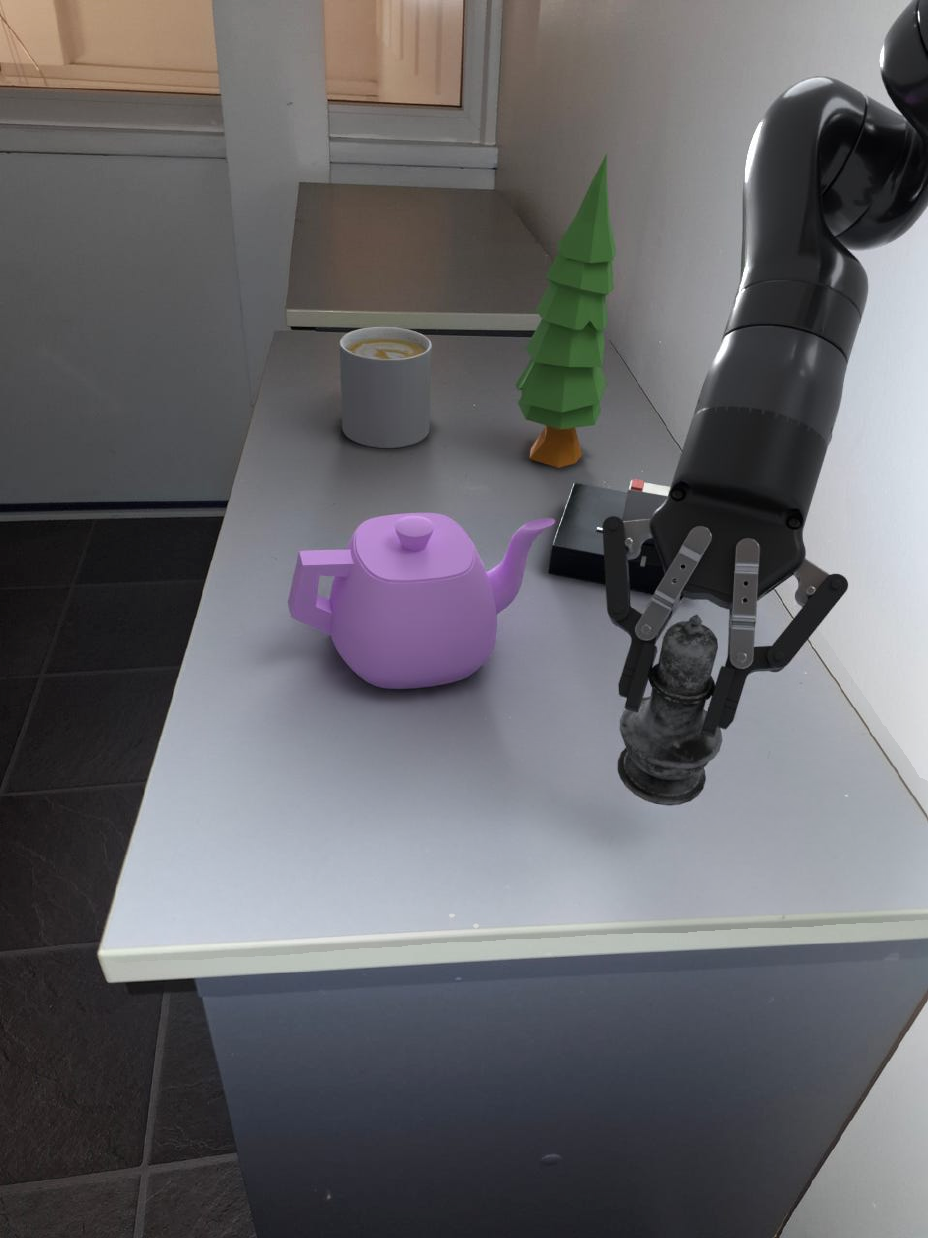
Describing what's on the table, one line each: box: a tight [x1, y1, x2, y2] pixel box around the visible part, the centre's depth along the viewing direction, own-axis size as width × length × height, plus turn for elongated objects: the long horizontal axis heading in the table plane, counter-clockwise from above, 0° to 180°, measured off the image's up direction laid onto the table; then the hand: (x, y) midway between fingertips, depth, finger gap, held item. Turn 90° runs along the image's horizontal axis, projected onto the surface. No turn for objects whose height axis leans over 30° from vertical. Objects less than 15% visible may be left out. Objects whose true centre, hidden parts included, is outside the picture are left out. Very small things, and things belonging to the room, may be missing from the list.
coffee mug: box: [339, 326, 433, 449], centre depth 96 cm, size 13×10×10 cm
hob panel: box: [548, 482, 665, 595], centre depth 79 cm, size 13×13×3 cm
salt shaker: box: [616, 614, 723, 806], centre depth 48 cm, size 6×6×12 cm
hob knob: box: [622, 478, 671, 545], centre depth 75 cm, size 5×2×5 cm, turn 75°
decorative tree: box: [515, 153, 617, 469], centre depth 86 cm, size 10×9×30 cm
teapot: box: [287, 512, 556, 690], centre depth 65 cm, size 13×20×11 cm, turn 104°
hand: (669, 721), depth 47 cm, fingers closed on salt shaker, 3 cm apart
